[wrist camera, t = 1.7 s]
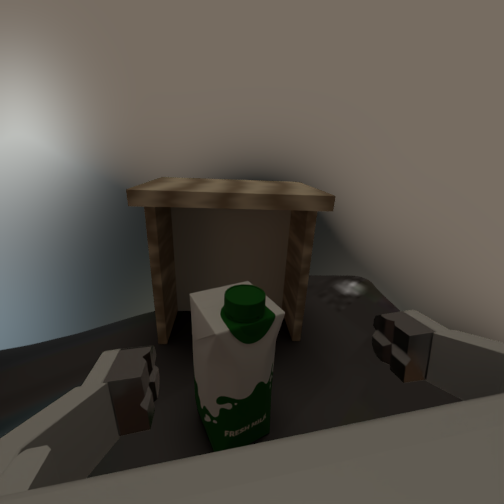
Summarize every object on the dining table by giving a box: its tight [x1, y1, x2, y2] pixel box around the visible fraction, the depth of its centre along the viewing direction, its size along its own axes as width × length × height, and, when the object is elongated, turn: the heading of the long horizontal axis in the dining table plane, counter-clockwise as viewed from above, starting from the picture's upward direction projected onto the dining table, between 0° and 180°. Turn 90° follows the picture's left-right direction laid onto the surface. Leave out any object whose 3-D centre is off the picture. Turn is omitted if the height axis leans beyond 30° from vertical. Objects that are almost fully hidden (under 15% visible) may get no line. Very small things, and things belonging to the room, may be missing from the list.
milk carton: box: [189, 281, 285, 452], centre depth 30 cm, size 9×9×20 cm
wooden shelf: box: [126, 177, 335, 344], centre depth 45 cm, size 26×18×28 cm
